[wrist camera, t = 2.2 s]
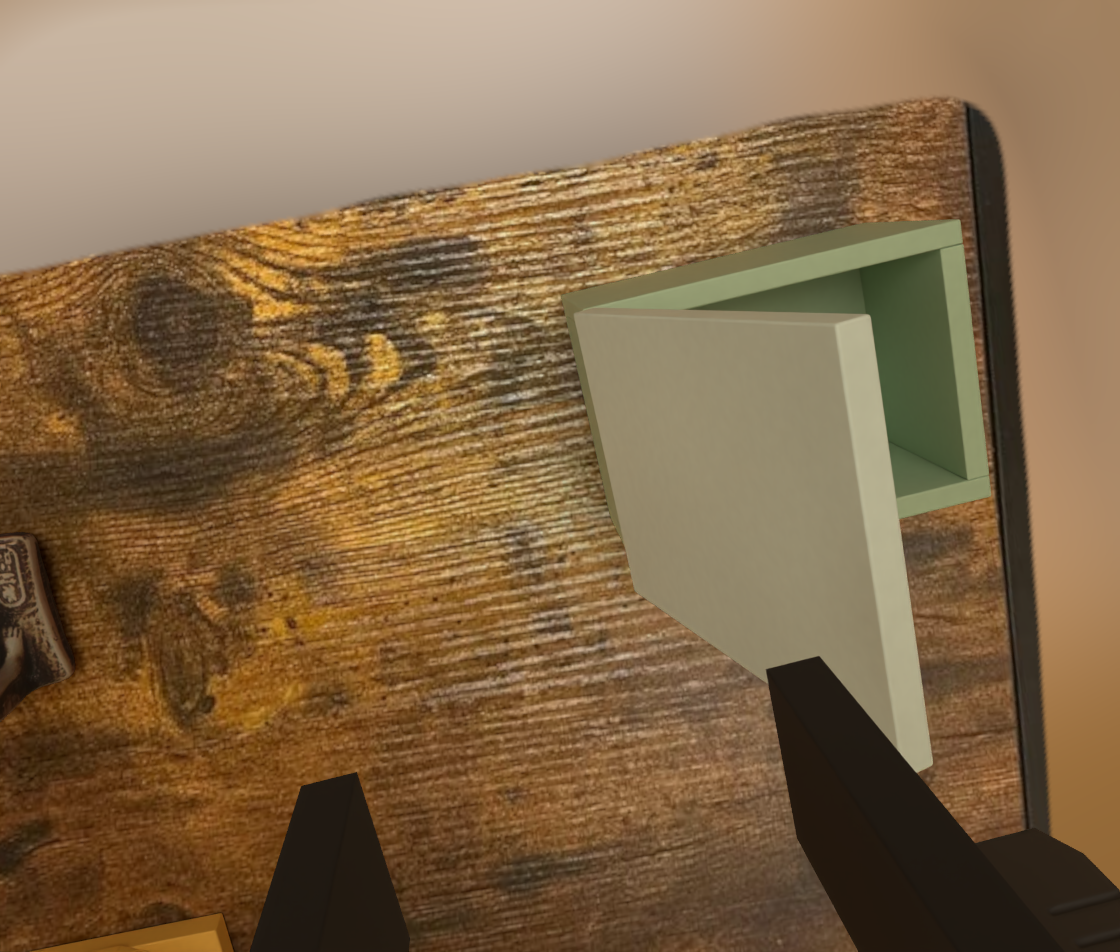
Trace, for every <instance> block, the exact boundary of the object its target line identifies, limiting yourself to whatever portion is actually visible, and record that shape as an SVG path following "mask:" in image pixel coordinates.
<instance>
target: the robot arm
mask: <svg viewBox="0 0 1120 952" xmlns="http://www.w3.org/2000/svg"><path fill="white" fill-rule="evenodd" d="M766 674H767V679H768V685H769V690H770V695H771V701H772V706H773V711H774V717H775V722H776V727H777V733H778V738H779V744H780V749H781V754H782V760H783V765H784V770H785V776H786V781H787V786H788V792H789V797H790V803H791V808H792V813H793V819H794V824H795V829H796V835H797V839H798V841H799V843H800V844H801V846H802V848H803V850H804V852H805V854H806V856H807V857H808V859H809V861H810V863H811V865H812V867H813V868H814V870H815V872H816V874H817V876H818V878H819V880H820V881H821V883H822V885H823V887H824V889H825V891H826V893H827V894H828V896H829V898H830V900H831V902H832V904H833V905H834V907H835V909H836V911H837V913H838V915H839V917H840V918H841V920H842V922H843V924H844V926H845V928H846V930H847V931H848V933H849V935H850V937H851V939H852V941H853V942H854V944H855V946H856V948H857V950H858V952H1120V891H1119V889H1118V888H1117V887H1116V886H1115V885H1114V884H1113V883H1112V882H1111V881H1110V880H1109V879H1108V878H1107V877H1106V876H1105V875H1104V874H1103V873H1102V872H1101V871H1100V870H1099V869H1098V868H1097V867H1096V866H1095V865H1094V864H1093V863H1092V862H1091V861H1090V860H1089V859H1088V858H1087V857H1086V856H1085V855H1084V854H1083V853H1081V852H1079V851H1077V850H1076V849H1074V848H1072V847H1070V846H1068V845H1066V844H1064V843H1062V842H1060V841H1058V840H1057V839H1055V838H1053V837H1051V836H1049V835H1047V834H1045V833H1043V832H1041V831H1039V830H1038V829H1036V828H1032V829H1028V830H1024V831H1021V832H1017V833H1013V834H1009V835H1005V836H1001V837H997V838H994V839H990V840H986V841H982V842H978V843H974V842H973V841H972V839H971V838H970V837H969V836H968V834H967V833H966V832H965V831H964V830H963V828H962V827H961V826H960V825H959V824H958V822H957V821H956V820H955V819H954V818H953V816H952V815H951V814H950V813H949V812H948V810H947V809H946V808H945V807H944V806H943V804H942V803H941V802H940V801H939V800H938V798H937V797H936V796H935V795H934V793H933V792H932V791H931V790H930V789H929V787H928V786H927V785H926V784H925V783H924V781H923V780H922V779H921V778H920V777H919V775H918V774H917V773H916V772H915V771H914V769H913V768H912V767H911V766H910V765H909V763H908V762H907V761H906V760H905V759H904V757H903V756H902V755H901V754H900V752H899V751H898V750H897V749H896V748H895V746H894V745H893V744H892V743H891V742H890V740H889V739H888V738H887V737H886V736H885V734H884V733H883V732H882V731H881V730H880V728H879V727H878V726H877V725H876V724H875V722H874V721H873V720H872V719H871V718H870V716H869V715H868V714H867V713H866V711H865V710H864V709H863V708H862V707H861V705H860V704H859V703H858V702H857V701H856V699H855V698H854V697H853V696H852V695H851V693H850V692H849V691H848V690H847V689H846V687H845V686H844V685H843V684H842V683H841V681H840V680H839V679H838V678H837V677H836V675H835V674H834V673H833V672H832V670H831V669H830V668H829V667H828V666H827V664H826V663H825V662H824V661H823V660H822V658H821V657H820V656H816V657H812V658H808V659H804V660H800V661H796V662H792V663H788V664H785V665H781V666H777V667H773V668H769V669H766ZM409 942H410V937H409V934H408V931H407V927H406V924H405V921H404V918H403V915H402V912H401V909H400V906H399V903H398V899H397V896H396V893H395V890H394V887H393V884H392V881H391V878H390V874H389V871H388V868H387V865H386V862H385V859H384V856H383V853H382V850H381V846H380V843H379V840H378V837H377V834H376V831H375V828H374V825H373V822H372V818H371V815H370V812H369V809H368V806H367V803H366V800H365V797H364V793H363V790H362V787H361V784H360V781H359V778H358V775H357V772H355V773H351V774H347V775H344V776H340V777H336V778H332V779H328V780H324V781H320V782H316V783H312V784H308V785H304V786H301V789H300V792H299V795H298V799H297V802H296V805H295V808H294V811H293V815H292V818H291V821H290V824H289V827H288V831H287V834H286V837H285V840H284V843H283V847H282V850H281V853H280V856H279V859H278V863H277V866H276V869H275V872H274V875H273V879H272V882H271V885H270V888H269V891H268V895H267V898H266V901H265V904H264V907H263V911H262V914H261V917H260V920H259V923H258V927H257V930H256V933H255V936H254V939H253V943H252V946H251V949H250V952H409Z"/></svg>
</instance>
